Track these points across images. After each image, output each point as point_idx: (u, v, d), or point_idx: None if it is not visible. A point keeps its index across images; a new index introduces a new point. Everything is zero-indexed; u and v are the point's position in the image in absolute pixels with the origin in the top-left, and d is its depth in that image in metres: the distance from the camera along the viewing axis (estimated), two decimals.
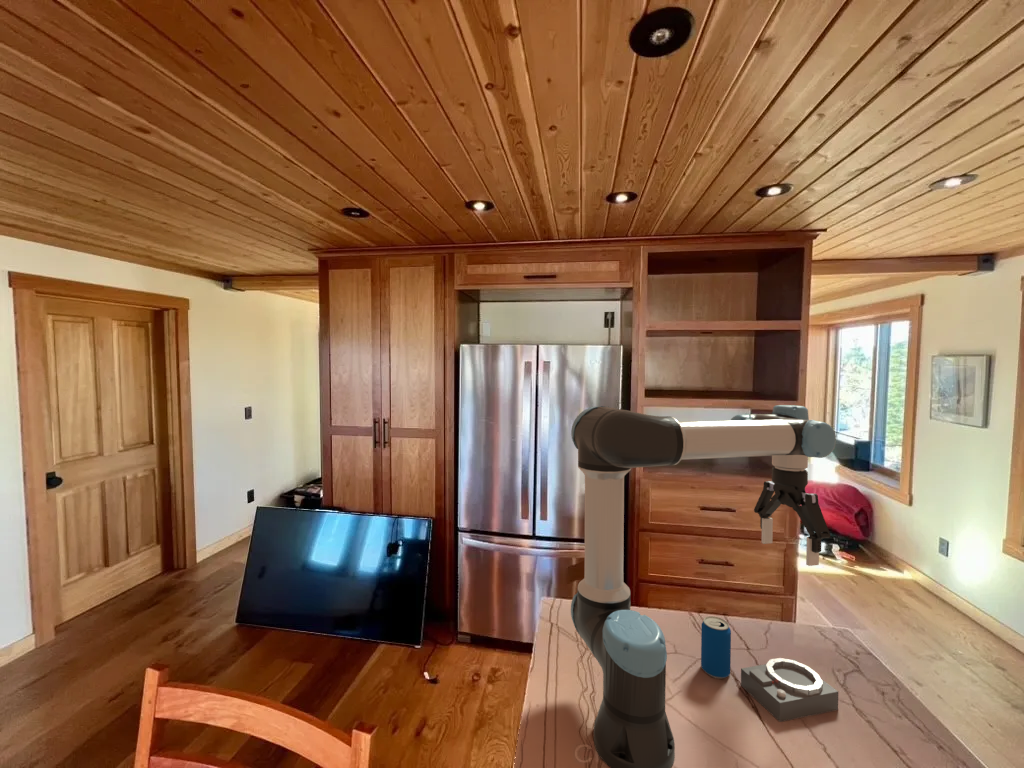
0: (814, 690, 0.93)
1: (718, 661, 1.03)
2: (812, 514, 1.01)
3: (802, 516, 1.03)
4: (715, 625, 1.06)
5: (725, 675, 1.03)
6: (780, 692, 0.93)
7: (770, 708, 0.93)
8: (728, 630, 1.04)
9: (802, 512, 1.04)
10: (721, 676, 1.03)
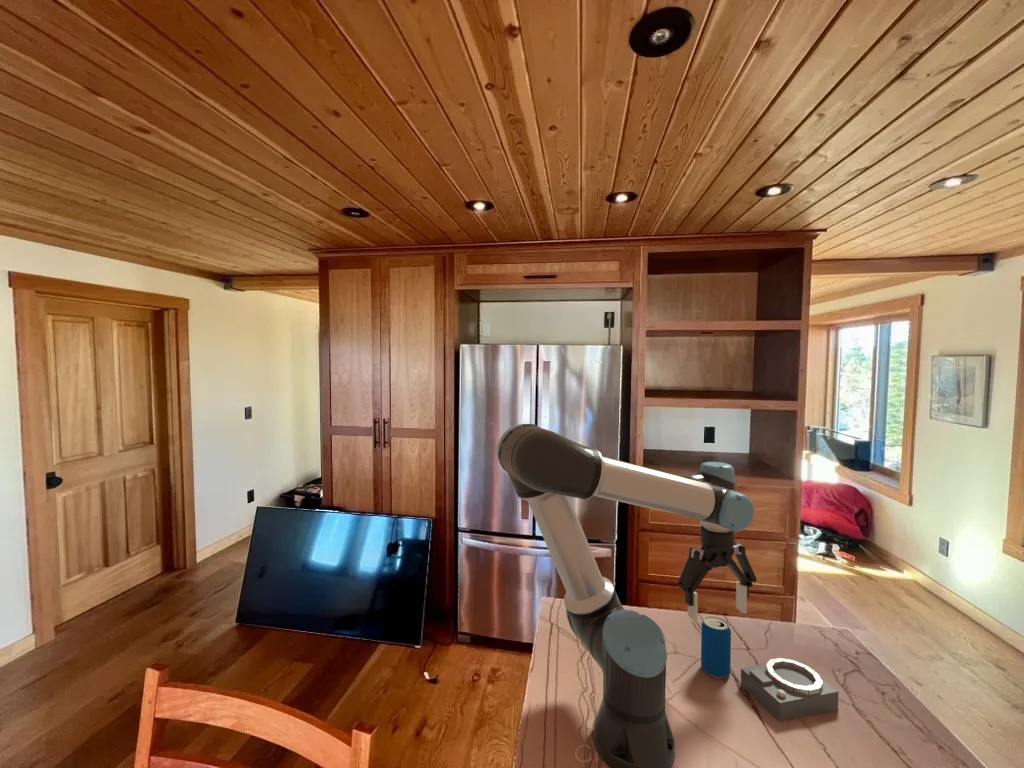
0: (814, 690, 0.93)
1: (718, 661, 1.03)
2: None
3: None
4: (715, 625, 1.06)
5: (725, 675, 1.03)
6: (780, 692, 0.93)
7: (770, 708, 0.93)
8: (728, 630, 1.04)
9: (697, 566, 1.06)
10: (721, 676, 1.03)
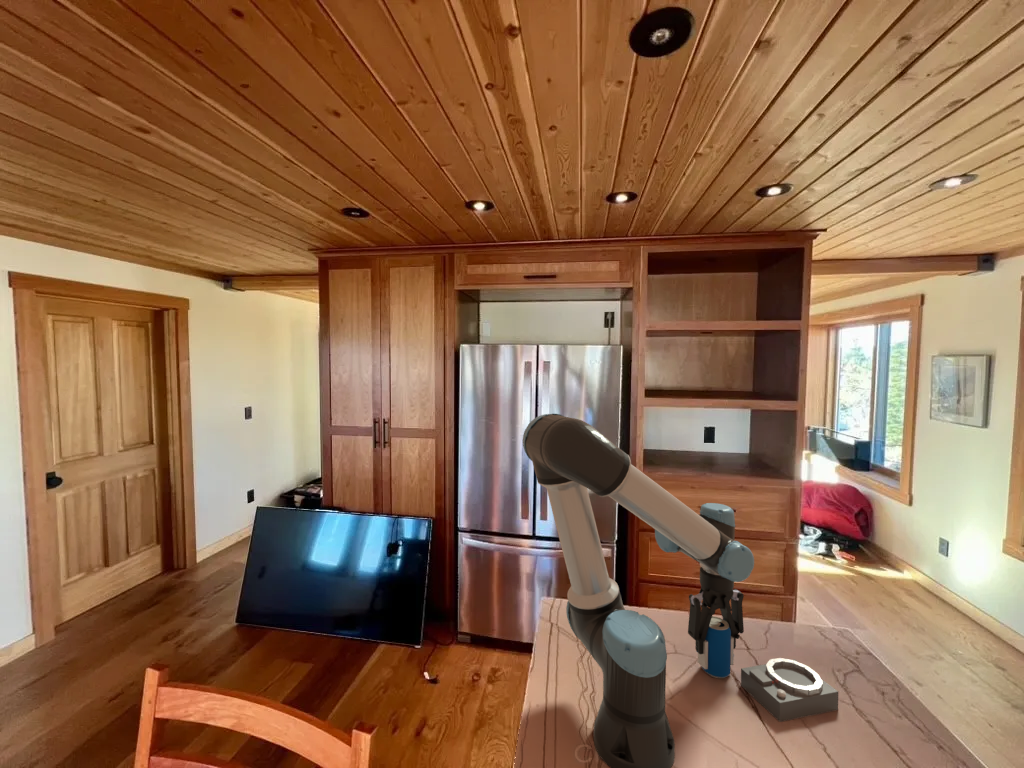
0: (814, 690, 0.93)
1: (718, 661, 1.03)
2: None
3: None
4: (715, 625, 1.06)
5: (725, 675, 1.03)
6: (780, 692, 0.93)
7: (770, 708, 0.93)
8: (728, 630, 1.04)
9: (701, 612, 1.07)
10: (721, 676, 1.03)
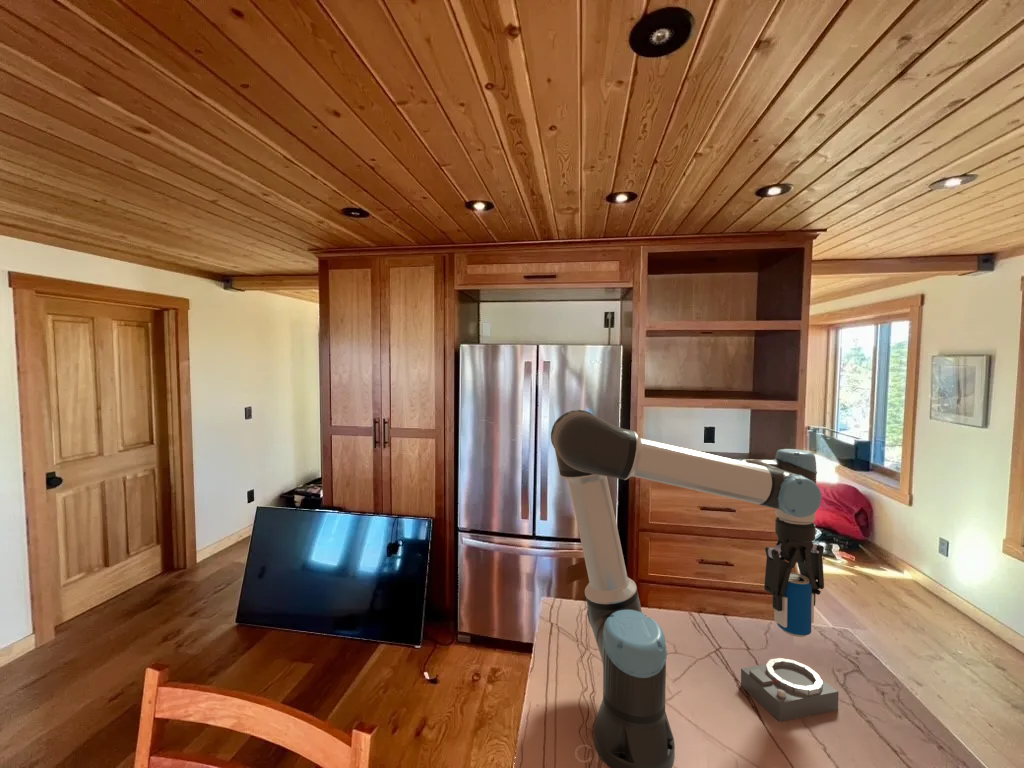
0: (814, 690, 0.93)
1: (799, 618, 0.95)
2: None
3: None
4: (794, 579, 0.97)
5: (807, 633, 0.95)
6: (780, 692, 0.93)
7: (770, 708, 0.93)
8: (809, 584, 0.96)
9: None
10: (802, 634, 0.95)
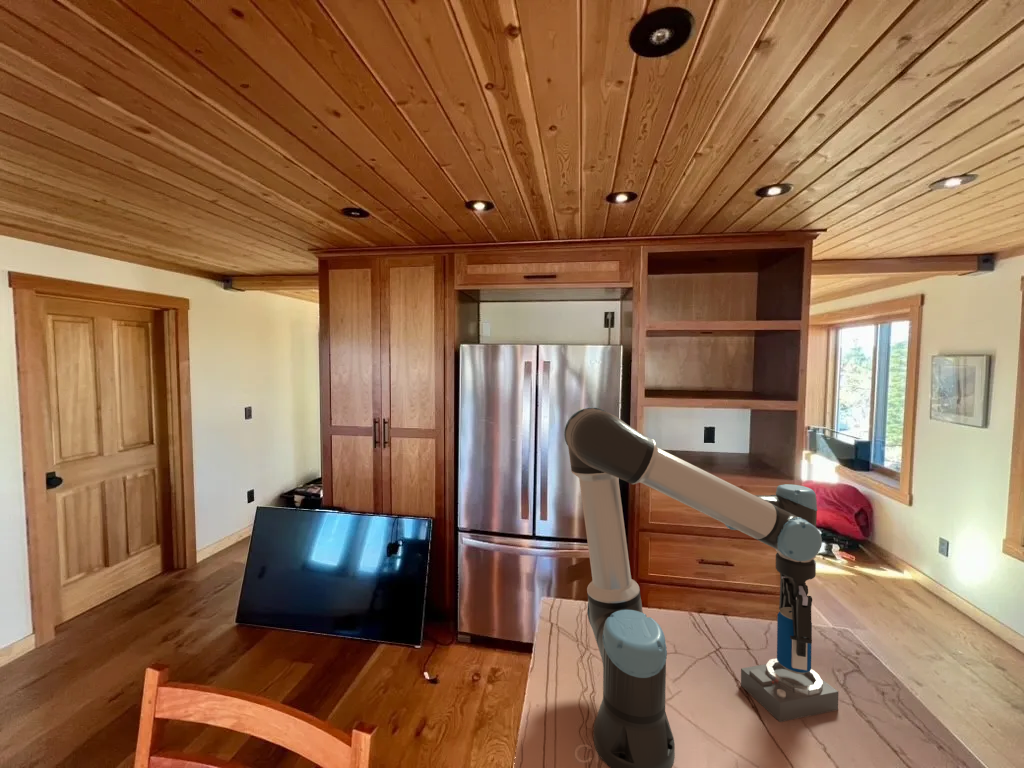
0: (814, 690, 0.93)
1: None
2: (797, 616, 0.93)
3: (793, 613, 0.95)
4: None
5: None
6: (780, 692, 0.93)
7: (770, 708, 0.93)
8: None
9: (794, 610, 0.95)
10: None
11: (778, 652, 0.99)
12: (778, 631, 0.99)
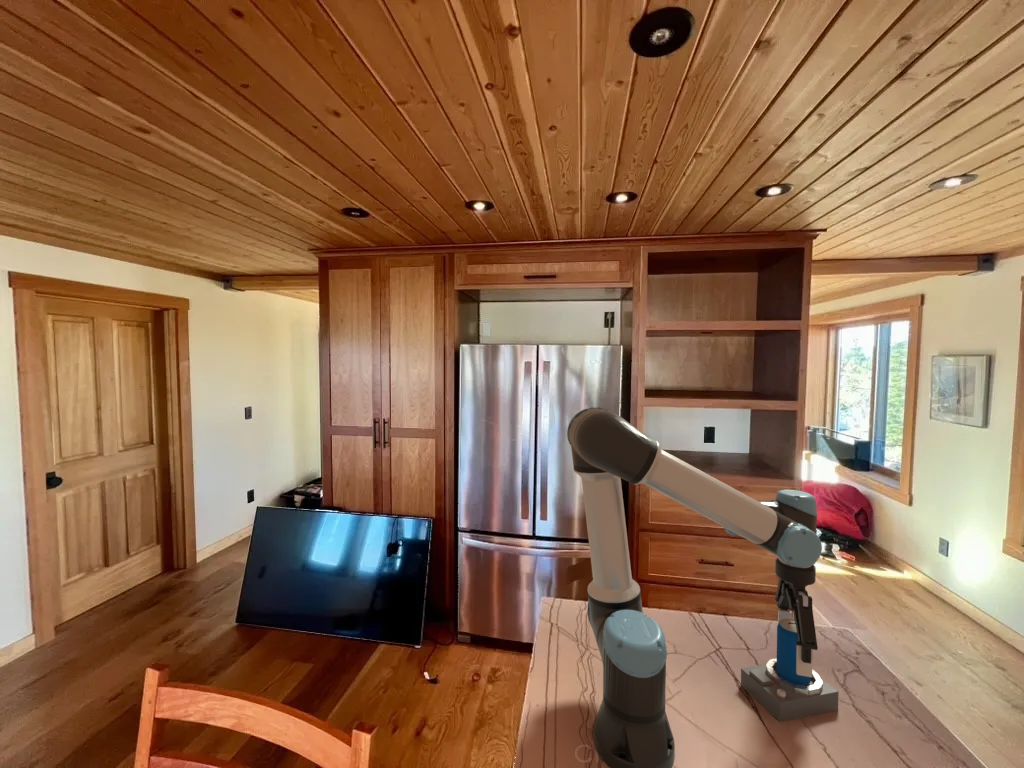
0: (814, 690, 0.93)
1: None
2: (800, 618, 0.91)
3: (795, 618, 0.94)
4: None
5: None
6: (780, 692, 0.93)
7: (770, 708, 0.93)
8: None
9: (796, 614, 0.94)
10: (810, 679, 0.97)
11: (778, 664, 0.99)
12: (778, 643, 0.99)
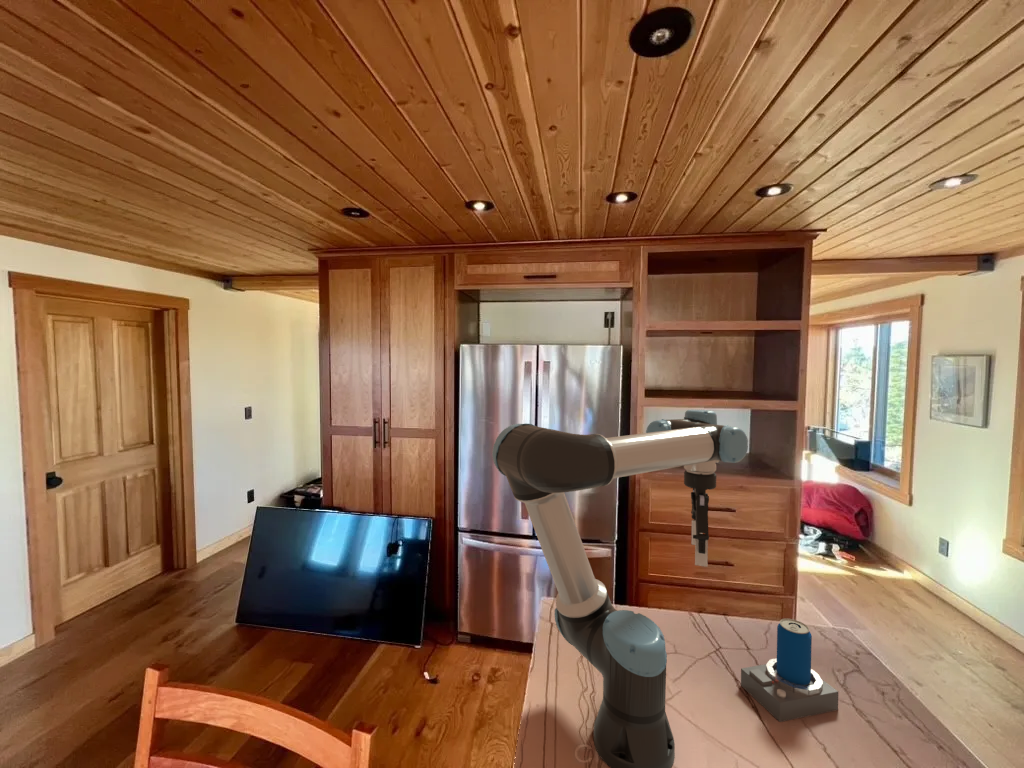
0: (814, 690, 0.93)
1: (810, 665, 0.96)
2: (696, 515, 1.04)
3: (695, 517, 1.07)
4: (797, 628, 0.97)
5: None
6: (780, 692, 0.93)
7: (770, 708, 0.93)
8: None
9: (696, 513, 1.07)
10: (810, 679, 0.97)
11: (778, 664, 0.99)
12: (778, 643, 0.99)
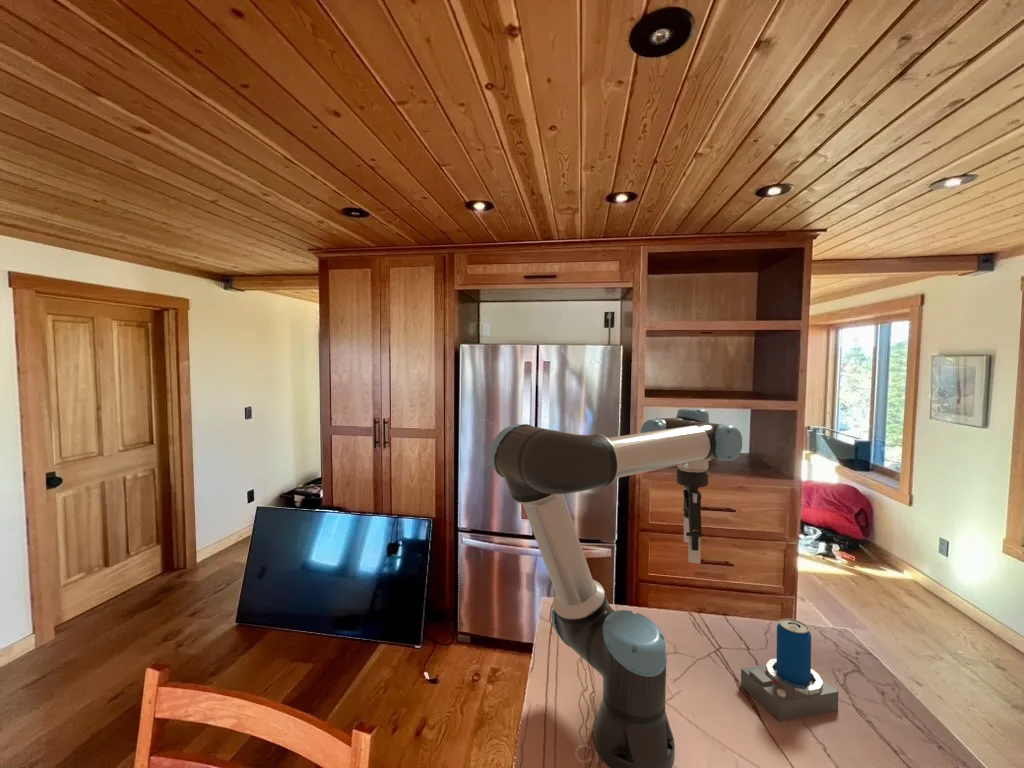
0: (814, 690, 0.93)
1: (810, 664, 0.96)
2: (689, 513, 1.05)
3: (688, 515, 1.08)
4: (797, 627, 0.98)
5: None
6: (780, 692, 0.93)
7: (770, 708, 0.93)
8: None
9: (689, 511, 1.08)
10: (810, 679, 0.97)
11: (778, 664, 0.99)
12: (778, 643, 0.99)
